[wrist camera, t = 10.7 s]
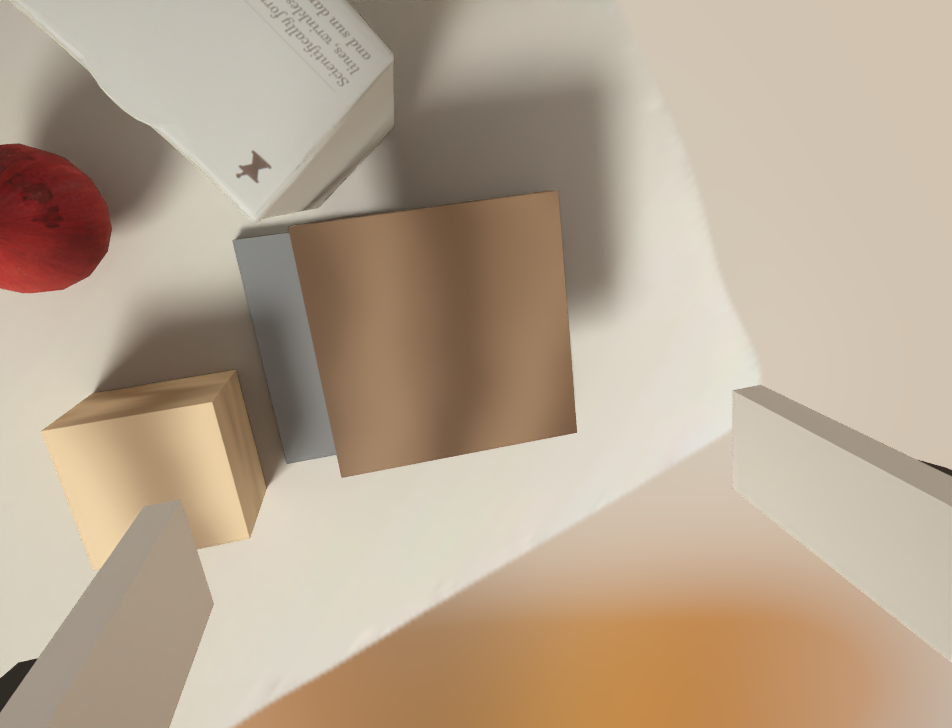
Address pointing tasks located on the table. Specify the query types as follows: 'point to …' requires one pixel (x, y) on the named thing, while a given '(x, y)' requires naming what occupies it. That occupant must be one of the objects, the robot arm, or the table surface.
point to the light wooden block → (159, 460)
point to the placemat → (285, 345)
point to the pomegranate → (48, 221)
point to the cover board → (439, 328)
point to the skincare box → (240, 86)
